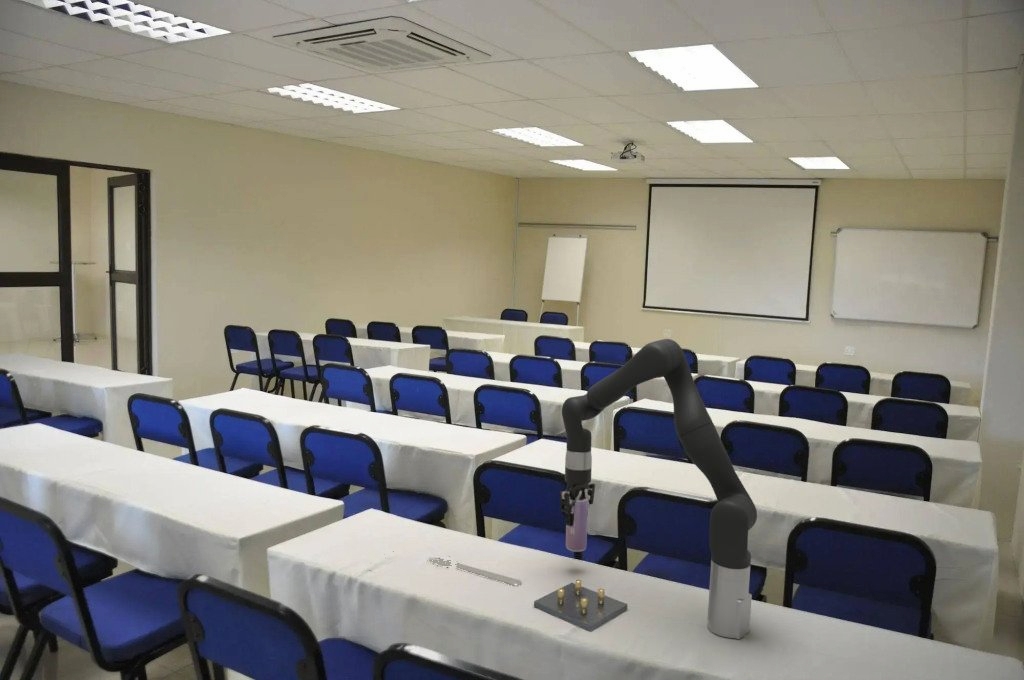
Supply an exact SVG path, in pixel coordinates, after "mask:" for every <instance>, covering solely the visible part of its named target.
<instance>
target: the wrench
mask: <svg viewBox="0 0 1024 680" xmlns="http://www.w3.org/2000/svg"><path fill="white" fill-rule="evenodd" d="M428 559H429V561H430V562H433V563H437V564H438V565H436V568H437V567H443V566H452V565H450V564H451V562H449V561H451V560H447V561H443V560H444V559H437V558H428ZM432 560H433V561H432ZM438 561H439V562H438ZM445 562H446V563H445ZM455 565H457V566H456V567H457V568H460V569H463V570H466V571H468V572H472V573H475V574H478V575H482V576H485V577H488V578H491V579H495V580H498V581H501V582H504V583H506V584H505V585H508V584H509V585H508V586H511V585H512V586H511V587H520V586H521V585H523V582H522V581H521V580H520V579H517V578H513V577H509V576H505V575H501V574H499V573H495V572H493V571H492V572H491V571H487V570H485V569H480V568H478V567H473V566H471V565H470V566H469V565H466V564H463V563H460V562H458V563H457V564H455ZM468 572H467V573H468ZM472 573H471V574H472ZM475 574H474V575H475ZM478 575H477V576H478ZM485 577H484V578H485ZM488 578H487V579H488ZM491 579H490V580H491ZM498 581H497V582H498ZM501 582H500V583H501ZM504 583H503V584H504ZM519 585H520V586H519Z"/></svg>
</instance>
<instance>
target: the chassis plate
mask: <svg viewBox="0 0 1024 680" xmlns="http://www.w3.org/2000/svg"><path fill="white" fill-rule="evenodd" d="M582 582H583V581H582V580H581V579H576V580H575V581H574V582H569V583H568V584H566V585H564V586H562V587H560V588H558V589H556V590H554V591H552V592H550V593H548V594H546V595H544V596H542V597H540V598H538V599H536V600H534V601H533V608H536V609H538V610H540V611H543V612H545V613H547V614H549V615H552V616H554V617H557V618H559V619H561V620H564V621H565V622H568V623H570V624H572V625H574V626H577V627H579V628H581V629H584V630H586V631H588V632H593V631H594V630H596V629H597V628H599V627H601V626H603V625H604V624H605V623H608V622H609V621H611V620H613V619H614V618H616V617H618V616H619V615H621V614H622V613H625V612H626V611H627V610H628V605H629V604H628V603H625V602H623V601H620V600H618V599H615V598H613V597H611V596H607V595H606V594H605V590H606V589H604V588H602V587H601V588H598V592H597V591H594V590H592V589H590V588H587V587H584V586H583V585H582Z"/></svg>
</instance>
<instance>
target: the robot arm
mask: <svg viewBox="0 0 1024 680" xmlns="http://www.w3.org/2000/svg"><path fill="white" fill-rule="evenodd" d="M688 363H689V362H688V360H687V358H686V354H685V353H684V350H683V349H682V347H681V345H679V344H678V342H676V340H673V339H669V338H665V339H660V340H659V339H658V340H655V341H651V342H649V343H647V344H645V345H644V346H643V347H642V348H640V349H639V350H638V351H637V352H636V353H635V354H634V355H633V356H632V357H631V358H630V359H629V360H628V361H627V362H626V363H624V364H623V365H622V366H621V367H620V368H619V367H618V369H617V370H615V371H614V372H612V373H610V374H609V375H607V376H605V377H603V378H602V379H601V380H599V381H598V382H595V383H594V384H593V385H591V387H589V389H588V390H587V392H586V394H584V395H578V396H571V397H568V398H566V399H565V400H564V402H563V404H562V407H561V416H562V420H563V424H564V430H565V433H566V451H565V461H564V463H565V464H564V481H565V482H566V484H567V487H566V490H565V491H562V490H561V491H560V492H559V506H560V512H563V513H565V525H568V526H573V525H574V510H575V506H577V501H579V499H582V498H586V497H587V501H588V509H589V508H590V505H593V504H594V499H595V498H594V497H595V490H596V484H595V483H593V482H592V466H593V465H592V463H593V462H592V461H593V458H592V457H593V456H592V440H593V439H592V437H593V436H592V432H591V431H590V430H589V429H587V428H584V427H583V421H588V420H592V419H594V418H596V417H597V416H599V415H600V414H601V413H602V412H603V411H604V410H605V409H606V408H607V407H609V406H611V405H612V404H614V403H615V402H618V401H619V400H621V399H622V398H623V397H625V395H627V394H628V393H629V392H630V391H631V390H632V389H633V388H635V387H636V386H638V385H640V384H643V383H645V382H648V381H651V380H654V379H659V378H663V379H664V380H665V382H666V384H667V386H668V389H669V391H670V393H671V396H672V403H673V421H674V429H675V431H676V432H675V433H676V435H677V436H678V439H679V441H680V444H681V445H682V448H683V449H684V452H685V454H686V455H687V457H688V458H689V459H690V461H691V463H693V464H694V465H695V466H696V468H698V470H699V471H700V472H701V473H702V474H703V475H704V477H705V478H706V479H707V481H708V482H709V484H710V486H711V488H712V490H713V493H714V494H715V498H716V501H717V503H716V504H715V505H714V506H713V507H712V509H711V512H710V518H709V538H708V539H709V543H708V544H709V550H710V552H711V555H710V557H711V558H710V559H711V560H710V574H709V575H710V577H709V589H708V590H709V591H708V607H707V617H706V618H707V628H708V630H709V632H711V633H713V634H715V635H717V636H720V637H723V638H730V639H731V638H732V639H736V640H741V638H743V637H744V636H745V635H746V634H748V633H749V632H750V627H751V614H752V613H751V612H752V598H753V597H752V596H753V595H752V594H751V593H750V577H751V575H750V574H751V564H752V563H751V562H752V555H751V552H750V551H749V549H748V543H749V542H748V540H749V531H750V530H751V529H753V527H754V525H755V524H756V522H757V519H758V513H757V512H758V510H757V507H756V505H755V503H754V501H753V499H752V498H751V496H750V494H749V492H748V491H747V489H746V487H745V486H744V485H743V483H742V481H741V479H740V478H739V475H738V474H737V472H736V470H735V469H734V468H735V467H734V466H733V464H732V461H731V458H730V457H729V455H728V452H727V450H726V448H725V446H724V444H723V442H722V440H721V439H722V438H721V437H720V434H719V433H718V431H717V427H716V426H715V423H714V422H713V420H712V418H711V416H710V414H709V412H708V410H707V408H706V406H705V403H704V401H703V398H702V396H701V395H700V392H699V389H698V387H697V385H696V383H695V380H694V377H693V375H692V372H691V368H690V367H689V364H688ZM569 499H571V500H575V501H574V502H570V501H569ZM570 504H571V505H572V506H571V509H570ZM588 514H589V510H588V511H587V518H588V517H589V515H588Z"/></svg>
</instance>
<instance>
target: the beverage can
mask: <svg viewBox="0 0 1024 680" xmlns="http://www.w3.org/2000/svg"><path fill="white" fill-rule="evenodd" d="M569 501H570V502H574V501H575V500H571V499H569ZM571 506H572V505H571V504H570V509H571ZM587 511H588V512H589V508H588V501H587V497H586V498H582V499H579V501H577V506H575V510H574V525H573V526H568V525H566V524H565V525H566V526H565V547H566V549H567V550H569V551H571V552H574V553H575V552H576V553H577V552H579V553H581V552H583V551H586V549H587V546H588V545H587V544H588V542H587V541H588V540H587V538H588V535H587V534H588V517H587Z"/></svg>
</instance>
